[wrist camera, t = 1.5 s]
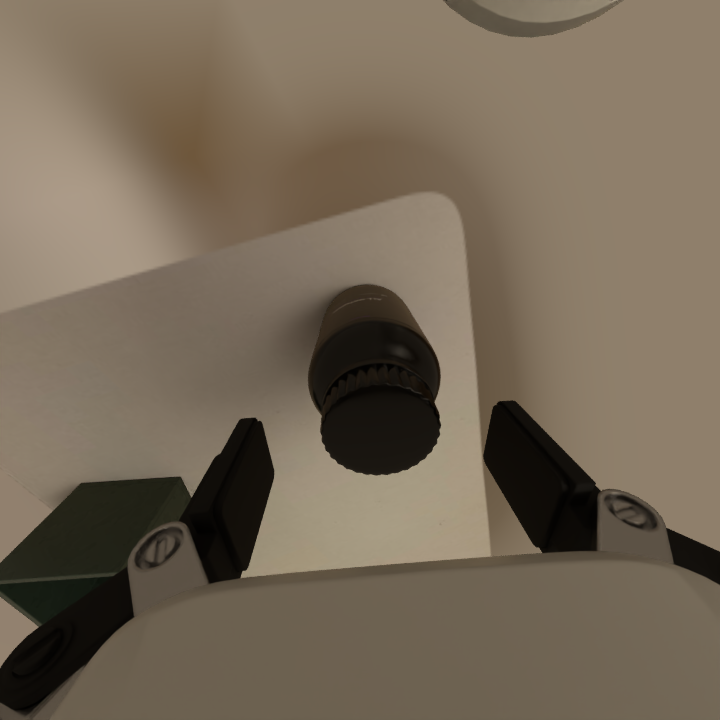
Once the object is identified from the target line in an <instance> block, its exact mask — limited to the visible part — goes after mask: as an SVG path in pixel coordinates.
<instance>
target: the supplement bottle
mask: <svg viewBox="0 0 720 720" xmlns="http://www.w3.org/2000/svg"><path fill="white" fill-rule="evenodd" d="M440 379H441V374H440V366H439V362H438V359H437V356H436V354H435V352H434V350H433V348H432V346H431V345H430V343H429V341H428V340H427V338H426V336H425V335H424V333H423V332H422V330H421V328H420V327H419V325H418V323H417V322H416V320H415V319H414V317H413V315H412V314H411V312H410V310H409V309H408V307H407V306H406V304H405V303H404V302H403V300H402V299H401V298H400V297H399V296H397V295H396V294H395V293H394V292H392V291H390V290H389V289H386V288H384V287H381V286H377V285H360V286H355V287H352V288H350V289H347V290H346V291H344V292H342V293H341V294H339V295H338V296H337V297H336V298H335V299H334V300H333V301H332V303H331V304H330V305H329V307H328V309H327V311H326V313H325V316H324V318H323V321H322V325H321V328H320V332H319V335H318V338H317V342H316V345H315V348H314V352H313V355H312V359H311V362H310V367H309V373H308V387H309V392H310V396H311V399H312V401H313V403H314V405H315V407H316V409H317V410H318V412H319V413H320V414H321V415H322V418H321V428H320V432H321V435H322V442H323V444H324V445H325V450H326V451H327V452H329V453H330V456H331V458H333V459H335V460H336V461H337V463H338V464H340V465H343V466H344V467H345V468H346V469H350V470H353V471H354V472H356V473H363V474H366V475H369V474H372V475H376V476H377V475H381V474H383V475H388V474H391V473H399V472H400V471H402V470H408V469H409V468H410V467H412V466H415V465H417V464H418V463H419V462H420V461H421V460H424V459H425V458H426V456H427V455H428V454H429V453H431V452H432V450H433V447H434V446H435V445H436V444H437V438H438V437H439V436H440V431H439V429H440V427H441V423H440V420H439V418H440V415H439V412H438V410H437V407H436V405H435V403H434V402H435V400H436V397H437V395H438V391H439V387H440Z"/></svg>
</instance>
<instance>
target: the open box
mask: <svg viewBox="0 0 720 720" xmlns="http://www.w3.org/2000/svg"><path fill="white" fill-rule="evenodd" d="M190 500H191V497H190V495H189V493H188V491H187V489H186V487H185V485H184V483H183V481H182V479H181V477H173V478H157V479H142V480H126V481H111V482H96V483H81V484H80V485H79V486H78V487H77V488H76V489H75V490H74V491H73V492H72V493H71V494H70V495H69V496H68V497H67V498H66V499H65V500H64V501H63V502H62V503H61V504H60V505H59V506H58V507H57V508H56V509H55V510H54V511H53V512H52V513H51V514H50V515H49V516H48V517H46V518H45V519H44V520H43V521H42V522H41V524H39V525H38V526H37V527H36V528H35V529H34V530H33V531H32V532H31V533H30V534H29V535H28V536H27V537H26V538H25V539H24V540H23V541H22V542H21V543H20V544H19V545H18V546H17V547H16V548H15V549H14V550H13V551H12V552H11V553H10V554H9V555H8V556H7V557H6V558H5V559H4V560H3V561H2V562H1V563H0V597H1V598H3V599H4V600H5V601H6V602H8V603H9V604H10V605H12V606H13V607H14V608H15V609H17V610H18V611H19V612H21V613H22V614H23V615H25V616H26V617H27V618H28V619H30V620H31V621H32V622H34V623H35V624H36V625H37V626H39V627H40V626H41V625H43V624H44V623H45V622H47V621H48V620H50V619H51V618H53V617H54V616H56V615H57V614H59V613H60V612H62V611H63V610H64V609H66V608H67V607H69V606H70V605H72V604H73V603H75V602H76V601H78V600H79V599H80V598H82V597H83V596H85V595H86V594H88V593H89V592H91V591H92V590H94V589H95V588H96V587H98V586H99V585H101V584H102V583H104V582H105V581H107V580H108V579H110V578H111V577H112V576H114V575H115V574H117V573H118V572H120V571H121V570H123V569H124V568H126V567H127V566H128V558H129V556H130V554H131V552H132V550H133V548H134V547H135V546H136V544H137V543H138V542H139V541H140V540H141V539H142V538H143V537H144V536H145V535H146V534H147V533H149V532H150V531H152V530H153V529H155V528H156V527H158V526H160V525H163V524H165V523H169V522H178V521H179V519H180V517H181V516H182V514H183V512H184V510H185V509H186V507H187V505H188V503H189V502H190Z"/></svg>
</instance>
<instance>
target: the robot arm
mask: <svg viewBox="0 0 720 720" xmlns="http://www.w3.org/2000/svg"><path fill="white" fill-rule="evenodd" d="M483 457H484V462H485V464H486V466H487V467H488V469H489V471H490V473H491V474H492V476H493V477H494V479H495V481H496V483H497V484H498V486H499V488H500V489H501V491H502V493H503V494H504V496H505V498H506V500H507V501H508V503H509V505H510V506H511V508H512V510H513V511H514V513H515V515H516V516H517V518H518V520H519V521H520V523H521V525H522V527H523V528H524V530H525V531H526V533H527V535H528V537H529V538H530V540H531V542H532V543H533V545H535V547H539V548H540V550H541V551H542V553H536V554H522V555H508V556H494V557H481V558H467V559H454V560H441V561H428V562H415V563H403V564H391V565H378V566H366V567H354V568H342V569H331V570H319V571H307V572H295V573H285V574H276V575H266V576H257V577H247V578H240V577H241V574H242V571H246V570H247V568H248V566H249V563H250V560H251V556H252V553H253V549H254V546H255V542H256V539H257V535H258V532H259V528H260V525H261V521H262V518H263V514H264V511H265V507H266V504H267V500H268V497H269V493H270V490H271V487H272V483H273V479H274V468H273V464H272V460H271V456H270V452H269V448H268V444H267V440H266V436H265V432H264V428H263V424H262V422H261V421H257V419H256V418H244V419H240V420H239V421H238V423H237V425H236V427H235V429H234V430H233V432H232V434H231V436H230V438H229V439H228V441H227V443H226V445H225V447H224V448H223V450H222V452H221V454H218V455H217V456H216V457H215V458H214V460H213V461H212V463H211V465H210V467H209V468H208V470H207V472H206V474H205V475H204V477H203V479H202V481H201V482H200V484H199V486H198V488H197V489H196V491H195V493H194V495H193V496H192V498H191V500H190V502H189V503H188V505H187V507H186V509H185V510H184V512H183V514H182V516H181V517H180V519H179V521H178V522H169V523H165V524H163V525H160V526H158V527H156V528H155V529H153V530H152V531H150V532H149V533H147V534H146V535H145V536H144V537H143V538H142V539H141V540H140V541H139V542H138V543H137V544H136V546H135V547H134V548H133V550H132V552H131V554H130V556H129V558H128V566H127V567H126V568H124V569H123V570H121V571H120V572H118V573H117V574H115V575H114V576H112V577H111V578H110V579H108V580H107V581H105V582H104V583H102V584H101V585H99V586H98V587H96V588H95V589H94V590H92V591H91V592H89V593H88V594H86V595H85V596H83V597H82V598H80V599H79V600H78V601H76V602H75V603H73V604H72V605H70V606H69V607H67V608H66V609H64V610H63V611H62V612H60V613H59V614H57V615H56V616H54V617H53V618H51V619H50V620H48V621H47V622H45V623H44V624H43V625H41V626H40V627H39V628H37V629H36V630H35V631H33V632H32V633H31V634H30V635H28V636H27V637H26V638H25V639H24V640H23V641H22V642H21V643H20V644H19V645H18V646H17V647H16V648H15V649H14V650H13V651H12V653H11V654H10V655H9V657H8V658H7V659H6V660H5V662H4V663H3V665H2V666H1V668H0V720H720V552H719V551H717V550H714V549H713V548H710V547H708V546H706V545H704V544H701V543H699V542H697V541H695V540H693V539H690V538H688V537H686V536H684V535H681V534H679V533H677V532H675V531H672V530H670V529H668V528H666V526H665V523H664V521H663V519H662V517H661V516H660V515H659V514H658V512H657V511H656V510H655V509H654V508H653V507H651V506H650V505H649V504H648V503H646V502H644V501H643V500H641V499H640V498H638V497H636V496H634V495H632V494H629V493H627V492H624V491H621V490H616V489H606V490H602V491H600V490H599V489H598V488H597V487H596V486H595V484H596V483H595V482H594V481H593V480H592V479H591V478H590V477H589V476H588V475H587V474H586V473H585V472H584V470H583V469H582V468H581V467H580V466H579V465H578V464H577V463H576V462H575V461H574V460H573V459H572V458H571V457H570V456H569V455H568V454H567V453H566V452H565V451H564V450H563V449H562V448H561V447H560V446H559V445H558V444H557V443H556V442H555V441H554V440H553V439H552V438H551V437H550V436H549V435H548V434H547V433H546V432H545V431H544V430H543V429H542V428H541V427H540V426H539V425H538V424H537V423H536V422H535V421H534V420H533V419H532V418H531V416H529V414H528V413H527V412H526V411H525V410H524V409H523V408H522V407H521V406H519V404H518V403H517V402H515V401H500V402H498V403H497V405H495V406H494V407H493V410H492V414H491V419H490V424H489V429H488V434H487V440H486V445H485V450H484V455H483Z"/></svg>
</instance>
